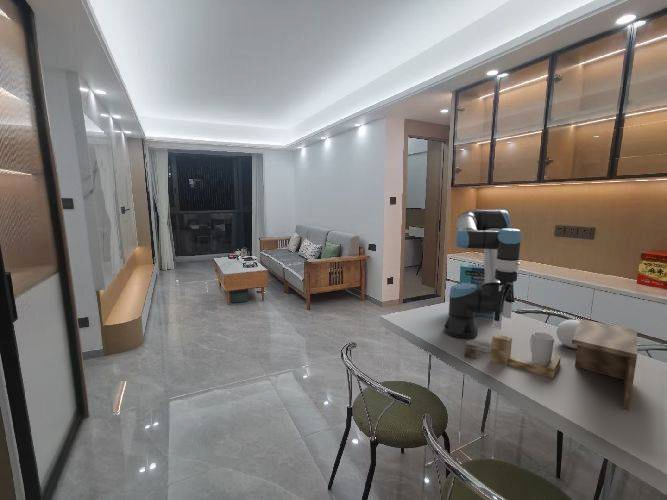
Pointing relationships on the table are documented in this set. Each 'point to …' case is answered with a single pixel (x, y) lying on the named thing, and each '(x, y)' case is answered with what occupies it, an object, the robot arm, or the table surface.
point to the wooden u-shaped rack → (503, 353)
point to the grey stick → (479, 347)
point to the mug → (541, 348)
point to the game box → (473, 279)
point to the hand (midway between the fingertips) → (501, 322)
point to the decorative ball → (567, 332)
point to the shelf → (607, 352)
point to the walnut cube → (470, 351)
